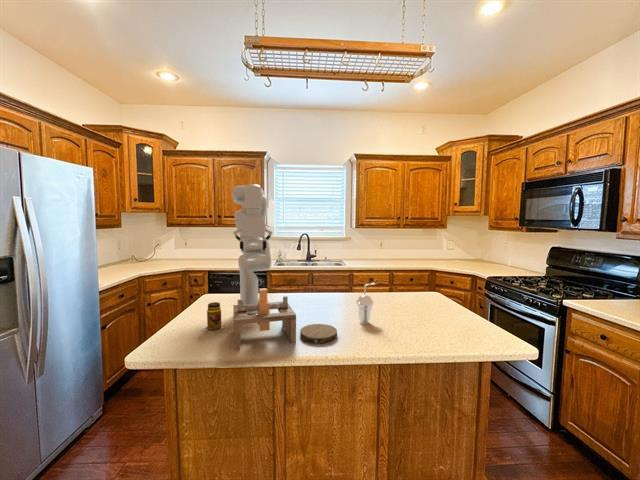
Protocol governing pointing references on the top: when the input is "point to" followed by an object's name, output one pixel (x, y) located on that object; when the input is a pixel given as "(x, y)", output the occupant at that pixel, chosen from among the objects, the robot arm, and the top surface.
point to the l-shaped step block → (263, 308)
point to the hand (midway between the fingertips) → (253, 250)
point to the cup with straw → (364, 306)
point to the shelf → (265, 318)
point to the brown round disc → (318, 334)
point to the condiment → (213, 318)
